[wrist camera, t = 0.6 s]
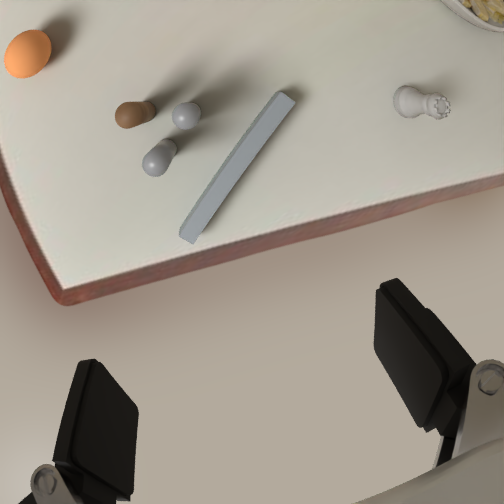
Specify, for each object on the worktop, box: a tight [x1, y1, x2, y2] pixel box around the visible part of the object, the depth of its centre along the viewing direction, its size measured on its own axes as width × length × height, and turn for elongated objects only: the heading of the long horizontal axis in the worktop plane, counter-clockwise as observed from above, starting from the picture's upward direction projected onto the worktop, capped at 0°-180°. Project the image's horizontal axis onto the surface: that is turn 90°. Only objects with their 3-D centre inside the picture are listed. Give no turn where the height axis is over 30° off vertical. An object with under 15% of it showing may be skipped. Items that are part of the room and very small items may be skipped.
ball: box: [4, 30, 51, 78], centre depth 22 cm, size 6×6×6 cm
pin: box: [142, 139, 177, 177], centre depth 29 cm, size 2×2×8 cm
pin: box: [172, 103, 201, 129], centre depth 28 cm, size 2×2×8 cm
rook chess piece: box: [394, 86, 450, 119], centre depth 30 cm, size 4×4×8 cm
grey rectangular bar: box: [179, 92, 295, 244], centre depth 34 cm, size 20×2×2 cm, turn 144°
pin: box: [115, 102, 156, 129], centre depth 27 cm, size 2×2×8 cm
